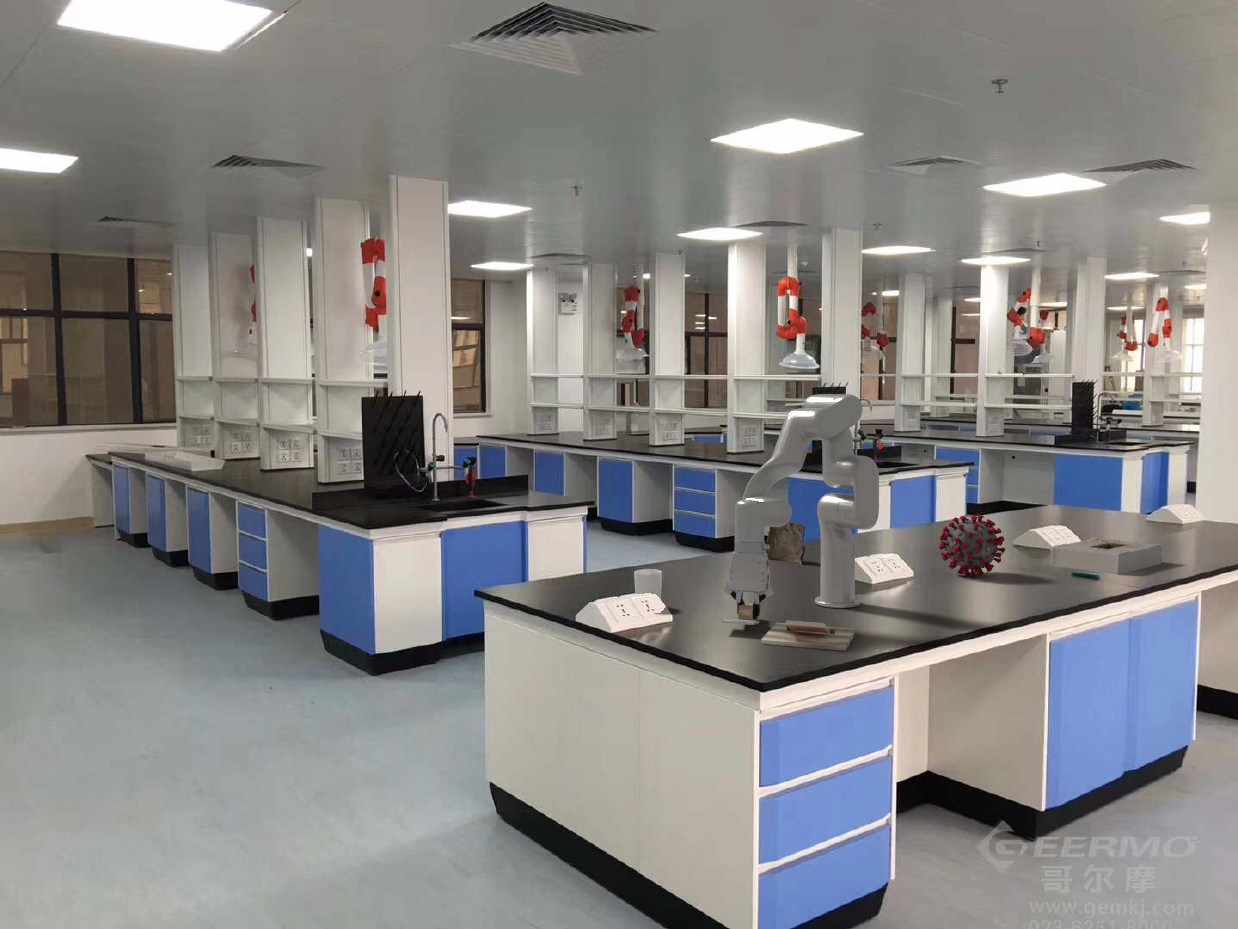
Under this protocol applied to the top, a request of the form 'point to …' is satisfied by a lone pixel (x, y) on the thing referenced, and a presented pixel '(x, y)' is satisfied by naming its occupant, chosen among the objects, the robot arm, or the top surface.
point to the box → (1106, 555)
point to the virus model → (971, 544)
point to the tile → (807, 626)
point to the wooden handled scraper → (744, 616)
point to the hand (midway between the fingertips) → (748, 617)
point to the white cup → (648, 581)
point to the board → (809, 638)
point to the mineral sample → (786, 542)
